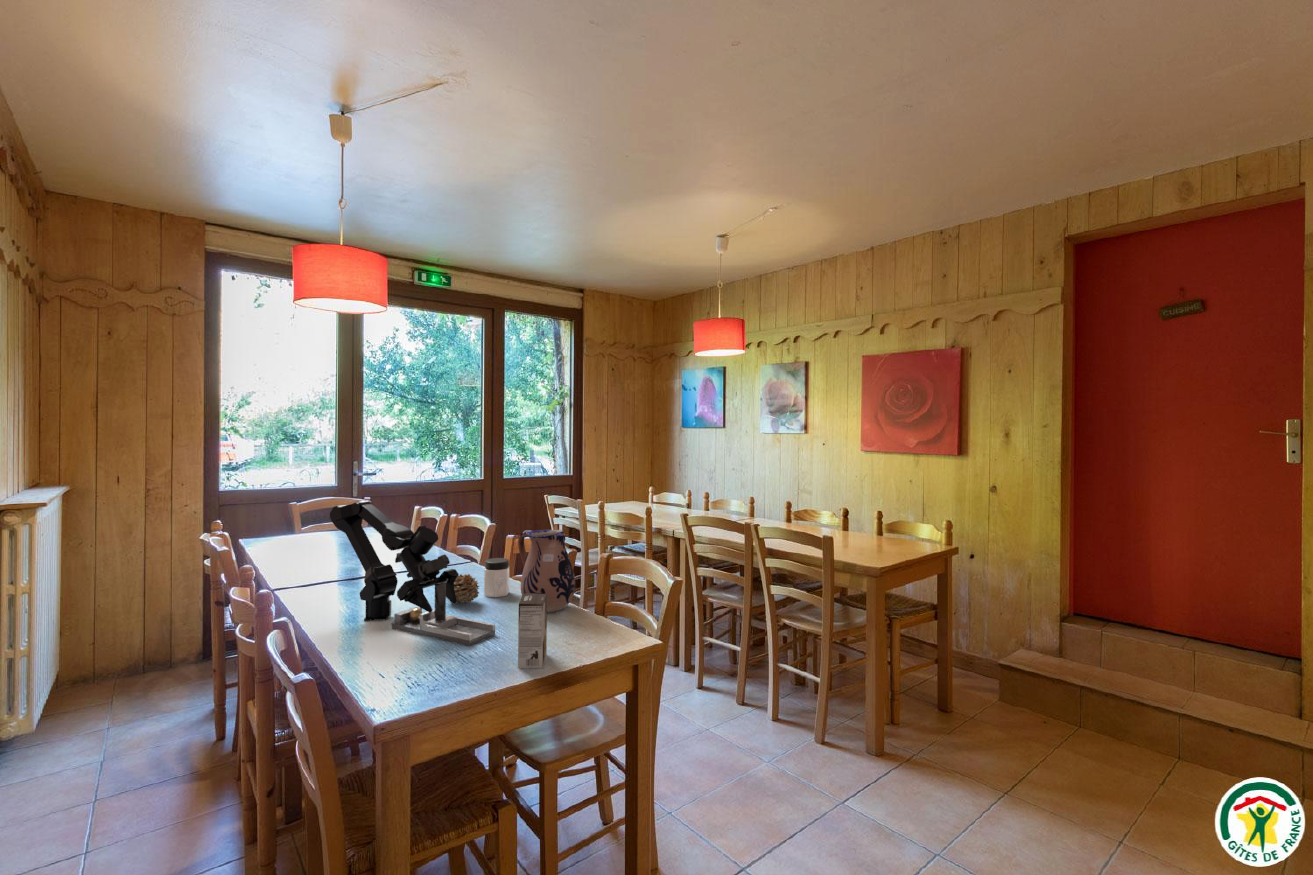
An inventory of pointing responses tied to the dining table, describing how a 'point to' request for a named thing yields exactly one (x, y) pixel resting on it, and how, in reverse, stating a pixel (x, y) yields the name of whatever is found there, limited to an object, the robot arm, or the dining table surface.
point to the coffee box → (532, 630)
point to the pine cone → (465, 588)
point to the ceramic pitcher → (547, 568)
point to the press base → (459, 633)
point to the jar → (496, 577)
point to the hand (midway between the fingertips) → (443, 607)
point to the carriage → (438, 610)
